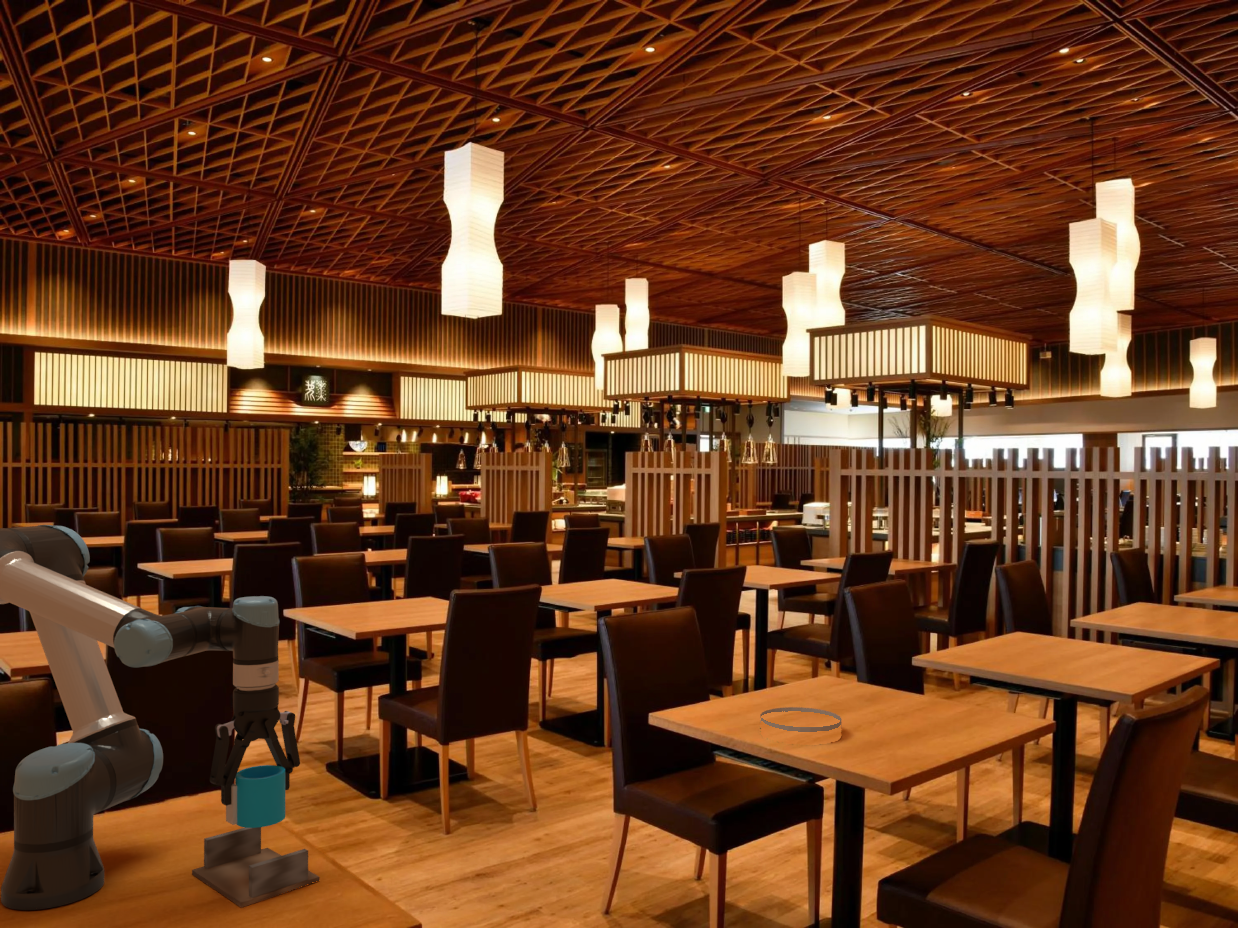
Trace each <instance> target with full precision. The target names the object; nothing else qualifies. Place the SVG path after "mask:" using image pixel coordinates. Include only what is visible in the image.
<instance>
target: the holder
mask: <svg viewBox="0 0 1238 928" xmlns="http://www.w3.org/2000/svg"><path fill="white" fill-rule="evenodd" d="M203 848H204V849H203V866H200V867H196V868H193V869H191V875H192V876H194V877H195V878H197V879H198V880H200V881H201V882H203V883H204V884H205V885H207V886H208V887H210V888H212V889H213V890H215V892H218V894H220V895H222V896H224V897H225V898H226V899H228V900H230V901H231V902H232V903H234V904H235V905H236V906H238V907H240V908H244V907H246V906H249V905H253V904H256V903H259V902H262V901H265V900H268V899H271V898H273V897H277V896H280V895H283V894H286V893H288V892H287V891H289V892H292V891H294V890H293V889H295V890H297V889H296V888H298V889H300V888H299V887H301V886H304V887H306V886H305V885H307V884H310V883H312V882H316V881H319V880H321V879H320V876H319V875H317V874H315V873H313V872H312V871H311V870H309V850H308V849H306V848H302V849H299V850H296V851H293V852H289V853H286V854H283V855H282V854H280V853H278V852H276V851H274V850H273V849H271V848H269V847H264V848H262V827H258V828H245V827H241V828H238V829H234V830H230V831H228V832H223V833H220V834H216V835H213V836H209V837H205V838H204V839H203ZM319 882H320V881H319ZM316 883H317V882H316ZM310 885H311V884H310ZM307 886H308V885H307ZM301 888H302V887H301ZM291 890H292V891H291ZM285 892H286V893H285ZM282 893H283V894H282ZM279 894H280V895H279ZM276 895H277V896H276Z"/></svg>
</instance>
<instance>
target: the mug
mask: <svg viewBox="0 0 1238 928" xmlns="http://www.w3.org/2000/svg"><path fill="white" fill-rule="evenodd" d="M234 781H235V783H234V784H235V785H237V824H236V826H238V827H241V828H258V827H261V828H264V827H270V826H273V825H277V824H279V823H281V822H282V821H283V820H285V818H286V790H285V768H284V767H281V766H277V765H274V764H273V765H272V764H264V765H263V764H262V765H257V766H251V767H246V768H243V769H240V770H238V772H237V774H236V777H235V779H234Z"/></svg>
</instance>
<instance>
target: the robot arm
mask: <svg viewBox="0 0 1238 928" xmlns="http://www.w3.org/2000/svg"><path fill="white" fill-rule="evenodd" d="M90 557H91V556H90V552H89V548H88V546H87V544H86V542H85V540H84V539H83V537H82V536H80V534H79V533H78V532H77V531H74V530H73V529H72V528H69V527H66V526H63V525H50V524H38V525H35V526H34V525H33V526H20V527H19V526H18V527H17V526H16V527H6V528H2V527H1V528H0V605H5V604H9V603H10V604H12V605H14V606H16V607H19V608H21V609H24V610H25V611H28V612H29V614H30V617H31V619H32V622H33V625H34V627H35V630H36V633H37V635H38V638H39V641H40V644H41V647H42V650H43V652H44V655H45V658H46V660H47V664H48V667H49V669H50V672H51V675H52V677H53V680H54V682H55V686H56V688H57V691H58V693H59V697H60V701H61V702H62V705H63V708H64V712H65V713H66V716H67V719H68V721H69V725H70V727H71V730H72V735H71V737H70V738H69V740H68V742H67V743H61V744H58V745H55V746H48V747H45V748H42V749H39V750H36V751H34V752H32V753H30V754H29V755H27V756H26V757H24V758H22V760H21V761H20V762H19V763H18V764H17V766H16V768H15V773H14V774H15V775H14V783H13V787H12V792H13V853H12V856H11V859H10V862H9V865H8V868H7V870H6V872H5V875H4V877H3V878H4V879H3V881H2V884H1V888H0V890H1V892H0V895H1V896H0V902H1V904H2V905H3V906H4V907H6V908H9V909H12V910H17V911H18V910H19V911H36V910H46V909H52V908H57V907H61V906H66V905H70V904H72V903H75V902H78V901H81V900H83V899H85V898H88V897H90V896H92V895H93V894H95V893H97V892H98V891H99V890H101V888H102V887H103V886H104V885H105V867H104V864H103V860H102V858H101V856H100V853H99V851H98V850H99V849H98V848H97V845H96V842H95V840H94V815H96V814H98V813H100V812H102V811H104V810H108V809H110V808H111V807H114V806H116V805H118V804H122V803H123V802H126V801H130V800H132V799H134V798H137V797H138V796H139V795H141V794H143V793H144V792H146V791H147V790H149V789H150V788H151V787H153V786H154V784H155V783H156V782H157V780H158V779H159V776H160V773H161V772H162V769H163V765H164V753H163V752H164V751H163V747H162V745H161V742H160V740H159V739H158V737H157V736H156V735H155V734H154V733H151V732H150V730H148V729H144V728H140V727H139V725H138V722H137V718H136V717H135V716H134V715H130V714H128V713H126V712H124V711H123V707H122V705H121V701H120V699H119V697H118V693H117V691H116V689H115V686H114V682H113V680H112V678H111V675H110V672H109V669H108V666H107V663H106V661H105V659H104V656H103V653H102V650H101V648H100V645H99V643H102V644H104V645H106V646H109V647H111V648H113V649H114V652H115V654H116V657H117V658H119V660H120V661H121V663H122V664H124V665H125V666H127V667H130V668H137V669H138V668H143V667H152V666H156V665H158V664H162V663H165V662H168V661H171V660H175V659H179V658H182V657H183V658H184V657H187V656H191V655H194V654H198V653H202V652H205V651H206V652H207V651H221V652H222V651H225V652H232V658H233V659H232V685H233V687H235V688H234V689H233V690H232V710H233V716H232V718H231V720H230V721H229V722H226V723H223V724H221V723H217V724H216V725H215V726H214V732H215V745H214V751H213V757H212V762H211V769H210V775H209V782H210V783H211V784H213V785H215V786H220V802H221V804H222V805H224V806H225V822H227V823H229V824H231V825H233V826H235V825H237V785H235V783H234V781H235V777H236V774H237V772H239V768H240V766H241V764H242V762H243V761H242V760H243V758H244V756H245V754H246V751H247V749H248V748H249V747H250V744H251V742H255V741H257V740H264V741H265V743H266V745H267V748H268V749H269V751H270V754H271V756H272V758H273V760H274V762H275V764H276V766H281V767H284V768H285V791H289V789H290V783H291V782H290V781H291V780H290V779H291V778H290V775H291V774H292V773H293V772H294V768H297V767H299V766H300V765H301V758H300V753H299V749H298V748H299V747H298V742H297V736H296V729H295V721H296V713H295V712H291V711H289V710H285V711H282V712H281V711H280V709H279V703H280V700H279V699H280V697H279V696H280V691H279V690H280V689H279V688H280V687H279V686H278V685H277V683H278V682H279V675H280V672H279V665H280V664H279V636H280V635H279V630H280V618H279V604H278V603H279V602H278V600H277V599H276V598H274V597H272V596H264V595H260V596H257V595H256V596H255V595H254V596H244V597H238V598H236V599H235V600H234V601H233V604H232V607H212V606H211V607H210V606H208V607H206V606H201V605H195V606H183V607H181V608H178V609H177V610H176V611H175V612H174V613H171V614H165V615H164V614H163V615H159V614H157V613H154V612H151V611H149V610H146V609H144V608H142V607H140V606H137V605H134V604H133V603H130V602H129V601H125V600H123V599H120V598H118V597H116V596H114V595H111V594H109V593H106V592H105V591H101V590H99V589H97V588H96V587H95V588H94V587H92V586H90V585H87V584H86V581H85V578H84V577H85V575H86V574H87V572H88V569H89V566H88V564H89V563H90V559H91V558H90ZM278 722H279V723H280V724H281V726H280V727H281V732H282V739H283V743H284V744H283V745H284V750H285V751H284V750H283V747H282V745H281V743H280V740H279V737H278V733H277V732H276V730H275V727H276V726H277V724H278ZM233 729H234V731H235V732H236V735H235V737H234V739H233V746H232V748H231V751H230V754H229V755H228V753H229V747H230V745H229V744H230V736H232V732H233ZM227 757H228V759H227Z"/></svg>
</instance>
